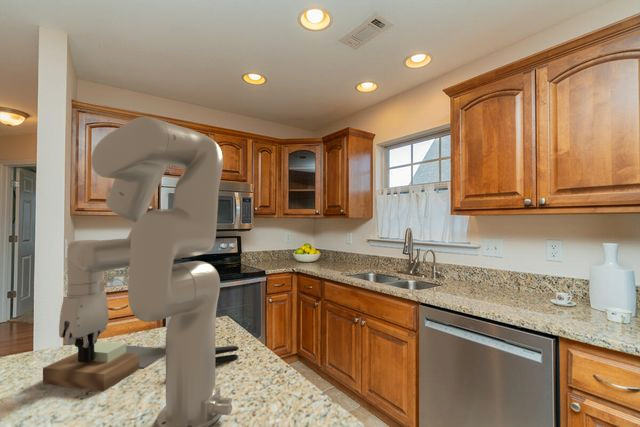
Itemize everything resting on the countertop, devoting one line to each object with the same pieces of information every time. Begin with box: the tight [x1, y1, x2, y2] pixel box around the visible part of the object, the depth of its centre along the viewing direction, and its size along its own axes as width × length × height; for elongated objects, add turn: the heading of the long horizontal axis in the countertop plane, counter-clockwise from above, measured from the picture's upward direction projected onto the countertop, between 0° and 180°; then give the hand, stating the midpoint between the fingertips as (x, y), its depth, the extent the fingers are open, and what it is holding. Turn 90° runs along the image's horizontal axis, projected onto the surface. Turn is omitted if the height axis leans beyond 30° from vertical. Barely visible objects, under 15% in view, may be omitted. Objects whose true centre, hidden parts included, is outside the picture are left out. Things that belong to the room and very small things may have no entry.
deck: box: [42, 351, 140, 392], centre depth 81 cm, size 18×11×4 cm, turn 79°
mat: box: [126, 344, 166, 369], centre depth 93 cm, size 20×12×1 cm, turn 79°
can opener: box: [215, 345, 239, 365], centre depth 86 cm, size 18×7×6 cm, turn 126°
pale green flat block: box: [92, 340, 127, 362], centre depth 84 cm, size 9×6×2 cm, turn 79°
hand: (86, 360), depth 79 cm, fingers closed
